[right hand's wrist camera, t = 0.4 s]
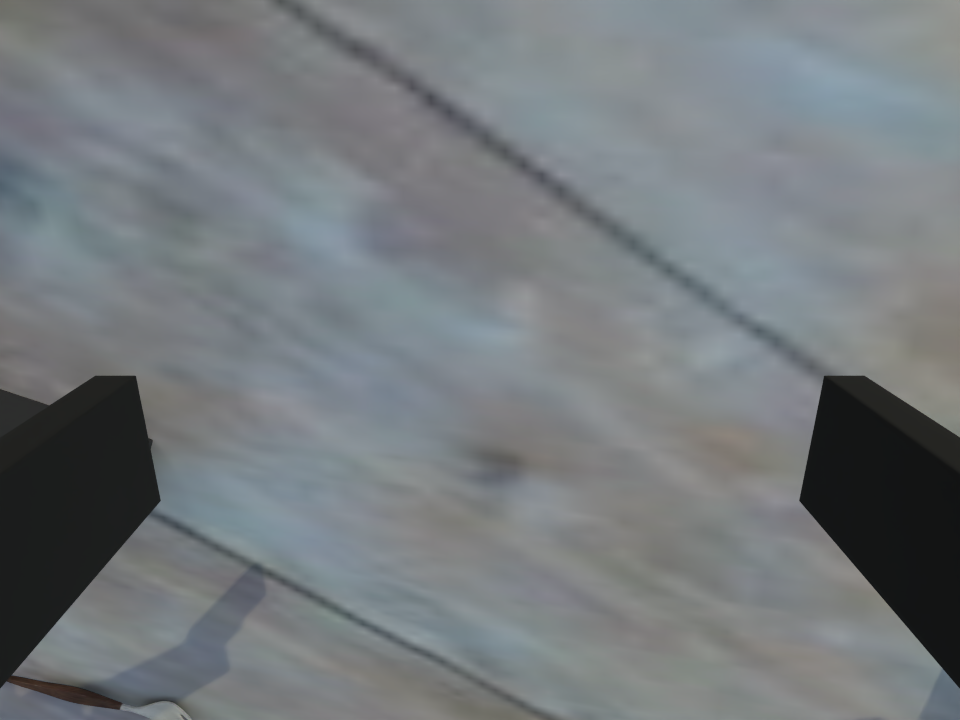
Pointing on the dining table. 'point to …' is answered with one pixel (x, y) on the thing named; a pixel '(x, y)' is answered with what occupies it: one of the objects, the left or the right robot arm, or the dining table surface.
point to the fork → (102, 700)
